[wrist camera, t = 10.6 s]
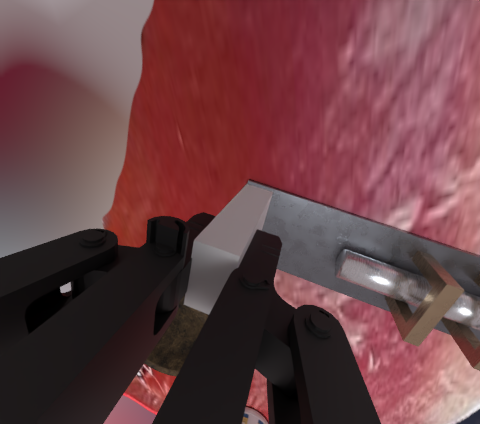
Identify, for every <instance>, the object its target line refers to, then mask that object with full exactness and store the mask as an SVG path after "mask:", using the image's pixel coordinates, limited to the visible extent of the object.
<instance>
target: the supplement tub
mask: <svg viewBox="0 0 480 424" xmlns="http://www.w3.org/2000/svg"><path fill="white" fill-rule="evenodd" d="M242 424H268V422H267V420H266V419H265V418H264V417H263V416H262V415H261V414H260V413H259V412H257V411H256V410H254V409H251V408H248V407H246V408H245V412H244V416H243V421H242Z"/></svg>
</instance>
